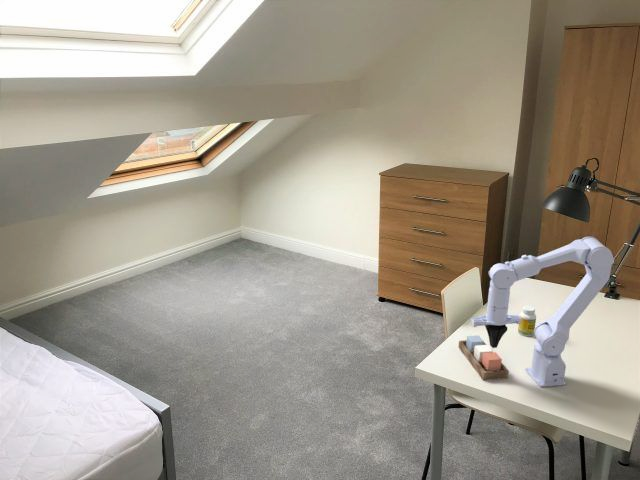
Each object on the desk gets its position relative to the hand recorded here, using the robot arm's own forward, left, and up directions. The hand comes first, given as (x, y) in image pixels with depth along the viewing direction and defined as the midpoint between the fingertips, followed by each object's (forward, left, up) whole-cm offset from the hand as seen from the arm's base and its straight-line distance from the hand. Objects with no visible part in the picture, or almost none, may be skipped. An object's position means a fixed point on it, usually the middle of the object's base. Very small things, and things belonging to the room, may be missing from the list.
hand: (493, 346), depth 158 cm
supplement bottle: (+22, -23, -9) cm, 33 cm away
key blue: (+12, 0, -8) cm, 15 cm away
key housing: (+6, 0, -9) cm, 11 cm away
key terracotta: (0, 0, -7) cm, 7 cm away
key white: (+6, 0, -8) cm, 10 cm away
